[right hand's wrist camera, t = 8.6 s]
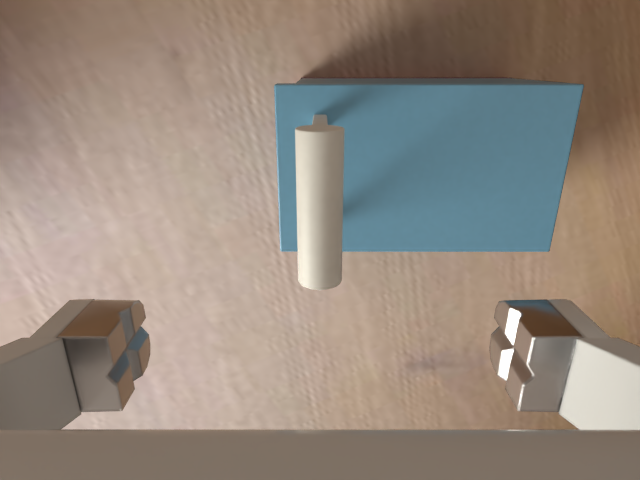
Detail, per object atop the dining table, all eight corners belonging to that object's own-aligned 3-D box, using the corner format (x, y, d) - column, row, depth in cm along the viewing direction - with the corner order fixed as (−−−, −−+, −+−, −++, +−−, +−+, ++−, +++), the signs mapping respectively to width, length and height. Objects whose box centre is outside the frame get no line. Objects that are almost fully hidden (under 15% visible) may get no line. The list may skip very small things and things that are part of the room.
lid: (281, 244, 27) (266, 317, 19) (276, 83, 23) (254, 93, 16) (541, 244, 27) (628, 317, 19) (573, 83, 23) (695, 93, 16)
